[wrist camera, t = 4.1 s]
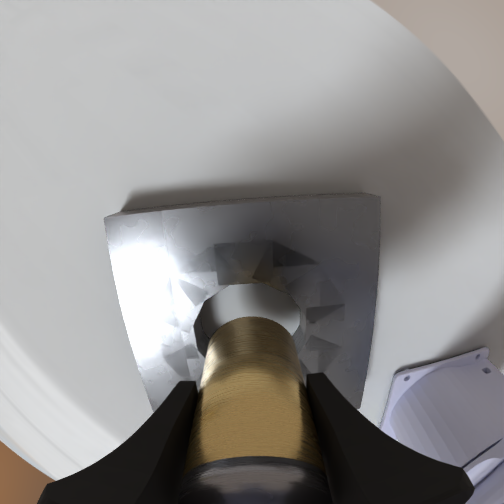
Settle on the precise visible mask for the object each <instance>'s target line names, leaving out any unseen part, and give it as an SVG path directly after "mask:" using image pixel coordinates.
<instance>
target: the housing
mask: <svg viewBox="0 0 504 504" xmlns="http://www.w3.org/2000/svg"><path fill="white" fill-rule="evenodd" d="M104 223H105V229H106V235H107V242H108V247H109V253H110V258H111V264H112V269H113V274H114V278H115V283H116V288H117V292H118V296H119V301H120V305H121V309H122V313H123V317H124V321H125V325H126V328H127V332H128V336H129V339H130V343H131V346H132V349H133V353H134V356H135V359H136V363H137V366H138V369H139V372H140V375H141V378H142V381H143V384H144V387H145V390H146V393H147V395H148V398H149V401H150V404H151V406H152V409H153V412H155V411H156V410H157V408H158V407H159V406H160V405H161V404H162V402H163V401H164V400H165V399H166V397H167V396H168V395H169V394H170V392H171V391H172V390H173V388H174V387H175V386H176V384H177V383H178V382H179V381H196V385H197V389H198V393H199V388H200V383H201V378H202V373H203V369H204V364H205V359H206V354H207V349H208V345H209V342H210V339H209V338H208V337H207V336H206V335H205V334H204V332H203V331H202V325H201V319H200V313H199V312H200V309H201V307H202V305H203V303H204V301H205V300H207V299H208V298H210V297H212V296H213V295H215V294H216V293H218V292H219V291H221V290H223V289H224V288H226V287H227V286H229V285H235V284H249V283H264V284H267V285H269V286H271V287H273V288H276V289H278V290H280V291H282V292H285V293H287V294H289V295H291V296H292V298H293V299H294V301H295V302H296V304H297V305H298V307H299V308H300V325H299V327H298V329H297V330H296V332H295V333H294V335H293V337H292V338H293V340H294V343H295V347H296V350H297V354H298V358H299V362H300V366H301V370H302V374H303V378H304V382H305V386H306V374H312V373H320V372H323V373H324V374H326V376H327V377H328V378H329V380H330V381H331V382H332V383H333V385H334V386H335V387H336V388H337V389H338V390H339V392H340V393H341V394H342V395H343V396H344V397H345V398H346V399H347V400H348V401H349V402H350V403H351V404H352V405H353V406H354V407H355V408H356V409H359V408H360V406H361V401H362V396H363V391H364V386H365V380H366V374H367V368H368V362H369V355H370V348H371V341H372V333H373V325H374V316H375V306H376V296H377V283H378V268H379V248H380V197H379V196H375V195H371V194H367V193H346V194H319V195H298V196H280V197H264V198H250V199H237V200H224V201H213V202H202V203H191V204H181V205H172V206H162V207H154V208H145V209H137V210H129V211H121V212H118V213H115V214H112V215H110V216H107V217H105V218H104Z"/></svg>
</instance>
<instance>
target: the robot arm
mask: <svg viewBox="0 0 504 504" xmlns="http://www.w3.org/2000/svg"><path fill="white" fill-rule="evenodd" d="M489 351H490V350H489V349H488V348H487V347H484V348H481V349H478V350H475V351H472V352H469V353H466V354H463V355H460V356H456V357H453V358H450V359H447V360H443V361H440V362H436V363H433V364H429V365H425V366H421V367H417V368H413V369H409V370H405V371H401V372H398V373H397V374H396V375H395V376H394V378H393V381H392V386H391V390H390V394H389V398H388V401H387V405H386V409H385V412H384V416H383V419H382V423H381V426H380V429H379V428H378V427H376V426H375V425H374V424H373V423H371V422H370V421H369V420H368V419H367V418H365V417H364V416H363V415H362V414H361V413H360V412H359V411H358V410H357V409H356V408H355V407H354V406H353V405H352V404H351V403H350V402H349V401H348V400H347V399H346V398H345V397H344V396H343V395H342V394H341V393H340V392H339V390H338V389H337V388H336V387H335V386H334V385H333V383H332V382H331V381H330V380H329V378H328V377H327V376H326V374H324V373H323V372H320V373H312V374H306V391H307V395H308V399H309V403H310V407H311V411H312V415H313V419H314V423H315V428H316V432H317V436H318V440H319V445H320V449H321V453H322V457H323V462H324V466H325V470H326V475H327V479H328V483H329V488H330V492H331V497H332V501H333V504H504V375H503V374H502V373H501V372H500V371H499V370H498V369H497V368H496V367H495V366H494V365H493V364H492V363H491V362H490V361H489V360H488V359H487V358H488V355H489ZM406 376H407V377H406ZM197 398H198V389H197V385H196V381H179V382H178V383H177V384H176V386H175V387H174V388H173V390H172V391H171V392H170V394H169V395H168V396H167V397H166V399H165V400H164V401H163V402H162V404H161V405H160V406H159V407H158V408H157V410H156V411H155V412H154V413H153V414H152V415H151V416H150V418H149V419H148V420H147V421H146V422H145V423H144V424H143V425H142V426H141V427H140V428H139V429H138V430H137V431H136V432H135V433H134V434H133V435H132V436H131V437H130V438H129V439H127V440H126V441H125V442H124V443H123V444H121V445H120V446H119V447H118V448H116V449H115V450H114V451H112V452H111V453H109V454H108V455H106V456H105V457H103V458H102V459H100V460H99V461H97V462H96V463H94V464H92V465H91V466H89V467H87V468H85V469H83V470H81V471H79V472H77V473H75V474H73V475H70V476H68V477H65V478H63V479H60V480H57V481H55V482H52V483H49V484H47V485H46V487H45V489H44V490H43V492H42V494H41V496H40V498H39V500H38V503H37V504H178V500H179V494H180V488H181V483H182V477H183V472H184V466H185V461H186V455H187V450H188V445H189V439H190V434H191V429H192V424H193V418H194V413H195V408H196V403H197ZM397 439H398V441H399V442H398V441H396V440H397Z"/></svg>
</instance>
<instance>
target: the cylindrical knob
mask: <svg viewBox="0 0 504 504" xmlns="http://www.w3.org/2000/svg"><path fill="white" fill-rule="evenodd" d="M178 504H333V501H332V497H331V492H330V488H329V483H328V479H327V475H326V470H325V466H324V462H323V457H322V453H321V449H320V445H319V440H318V436H317V432H316V428H315V423H314V419H313V415H312V411H311V407H310V403H309V399H308V395H307V391H306V386H305V382H304V378H303V374H302V370H301V366H300V362H299V358H298V354H297V350H296V347H295V343H294V340H293V338H292V336H291V335H290V333H289V332H288V331H287V330H286V329H285V328H284V327H283V326H281V325H280V324H278V323H277V322H275V321H273V320H270V319H267V318H262V317H242V318H237V319H234V320H232V321H229V322H227V323H225V324H224V325H223V326H221V327H220V328H219V329H218V330H217V331H216V332H215V333H214V334H213V336H212V337H211V339H210V342H209V345H208V349H207V354H206V359H205V364H204V369H203V373H202V378H201V383H200V388H199V393H198V398H197V403H196V408H195V413H194V418H193V424H192V429H191V434H190V439H189V445H188V450H187V455H186V461H185V466H184V472H183V477H182V483H181V488H180V494H179V500H178Z"/></svg>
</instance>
